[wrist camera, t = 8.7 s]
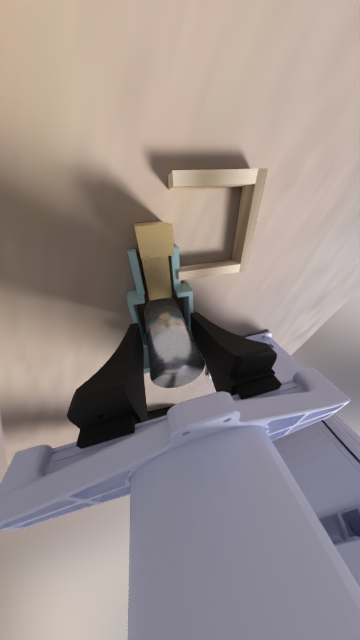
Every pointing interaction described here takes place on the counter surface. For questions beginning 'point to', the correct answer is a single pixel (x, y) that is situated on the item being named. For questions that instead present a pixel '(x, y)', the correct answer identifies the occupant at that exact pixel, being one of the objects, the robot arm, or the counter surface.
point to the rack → (247, 216)
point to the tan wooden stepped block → (156, 256)
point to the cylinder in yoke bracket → (170, 345)
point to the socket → (138, 294)
